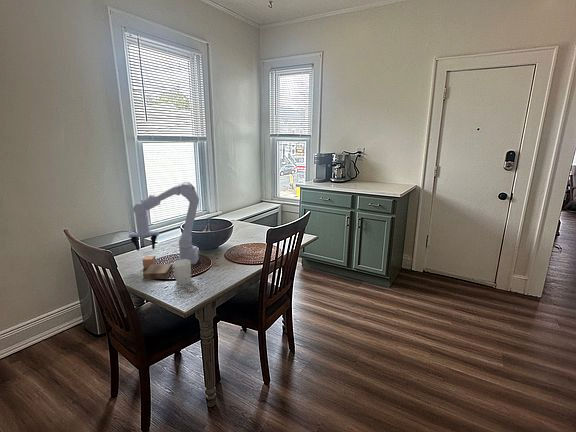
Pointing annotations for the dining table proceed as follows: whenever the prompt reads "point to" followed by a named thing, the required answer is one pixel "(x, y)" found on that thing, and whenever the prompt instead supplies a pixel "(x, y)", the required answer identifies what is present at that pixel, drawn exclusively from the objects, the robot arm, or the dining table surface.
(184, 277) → the white cup
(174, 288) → the dining table surface
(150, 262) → the cube
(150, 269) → the base
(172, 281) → the dining table surface
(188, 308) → the dining table surface
